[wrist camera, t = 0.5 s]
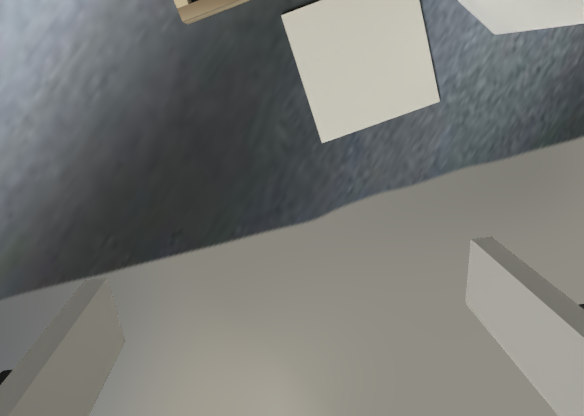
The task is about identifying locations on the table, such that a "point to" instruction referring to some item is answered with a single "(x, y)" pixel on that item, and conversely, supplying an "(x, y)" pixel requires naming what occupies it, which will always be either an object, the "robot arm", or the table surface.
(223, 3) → the wooden frame
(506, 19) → the milk
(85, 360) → the robot arm
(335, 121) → the mat
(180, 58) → the table surface
